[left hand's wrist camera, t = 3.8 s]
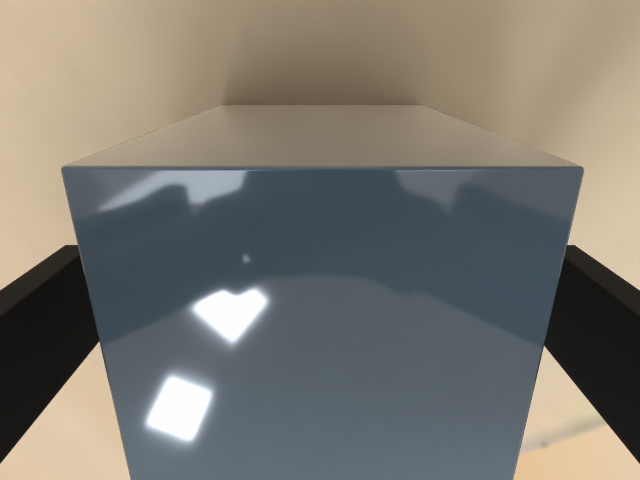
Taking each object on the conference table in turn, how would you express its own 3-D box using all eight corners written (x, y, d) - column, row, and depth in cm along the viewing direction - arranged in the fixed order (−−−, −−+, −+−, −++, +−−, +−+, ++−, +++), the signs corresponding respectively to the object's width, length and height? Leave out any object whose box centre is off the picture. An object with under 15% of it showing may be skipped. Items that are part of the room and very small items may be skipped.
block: (422, 104, 17) (587, 166, 6) (405, 306, 20) (495, 561, 10) (220, 104, 17) (57, 166, 6) (236, 306, 20) (147, 560, 10)
